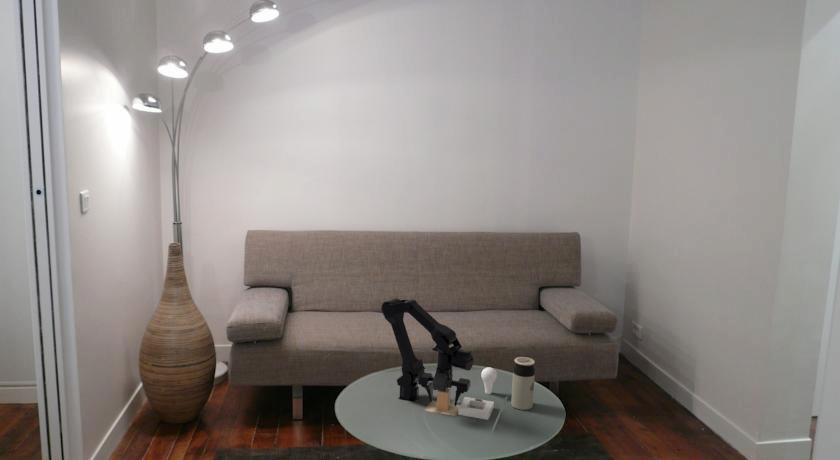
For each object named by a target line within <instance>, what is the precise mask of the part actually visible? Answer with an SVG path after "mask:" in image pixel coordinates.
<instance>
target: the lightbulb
mask: <svg viewBox="0 0 840 460" xmlns="http://www.w3.org/2000/svg"><path fill="white" fill-rule="evenodd" d="M480 376H481V379H482V382H483V385H484V393H485V394H487V395H491V394H492V392H493V391H492V390H493V386H494V383H495V381H496V380H497V378H498V373H497V371H496V369H495V368H492V367H491V366H490V367H485V368H483V369H482V371H481V374H480Z"/></svg>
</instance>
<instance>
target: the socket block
mask: <svg viewBox="0 0 840 460" xmlns="http://www.w3.org/2000/svg"><path fill="white" fill-rule="evenodd" d="M459 405H460V407H459V410H458V413H457V415H459V416H465V417H469V418H470V417H471V418H477V419H482V420H486V421H488V420H489V419H490V416H491V415H492V412H493V410H494V408H495V407H494V406H495V401H492V400H485V399H483V398H479V397H474V398H473V397H469V396H468V397H467V396H464V398H463V400H462V401H461V403H460V404H459Z"/></svg>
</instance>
